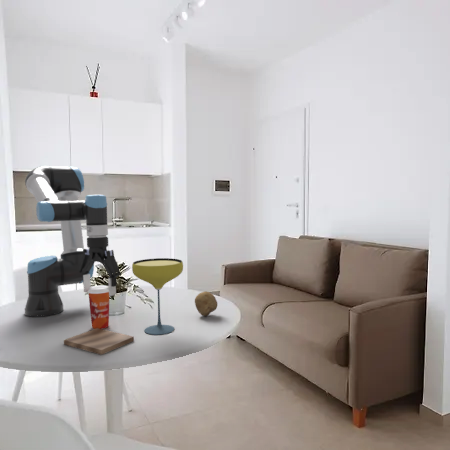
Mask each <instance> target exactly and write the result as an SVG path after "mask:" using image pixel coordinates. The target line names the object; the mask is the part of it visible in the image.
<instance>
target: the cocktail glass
mask: <svg viewBox="0 0 450 450" xmlns="http://www.w3.org/2000/svg"><path fill="white" fill-rule="evenodd" d="M131 269H132V274H133V275H134V276H135V277H136V278H138V279H140V280H141V281H143V282H146V283H148V284H150V285H151V286H152V287H154V289H155V290H156V291H157V324H155V325H151V326H150V325H149V326H148V327H145V328H144V330H143V331H144V333H145V334H147V335H152V336H153V335H154V336H162V335H167V334H170V333H173V332H174V331H175V327H174V326H172V325H170V324H162V320H161V305H160V304H161V300H160V290H161V289H163V288H164V286H165V285H166V284H167V283H168V282H170V281H172V280H174V279H176V278H178V277H179V276H180V275H181V274H182V273H183V271H184V263H183V261H182V260H181V259H177V258H167V257H166V258H164V257H163V258H147V259H140V260H136V261H134V262H132V266H131ZM172 331H173V332H172Z"/></svg>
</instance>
